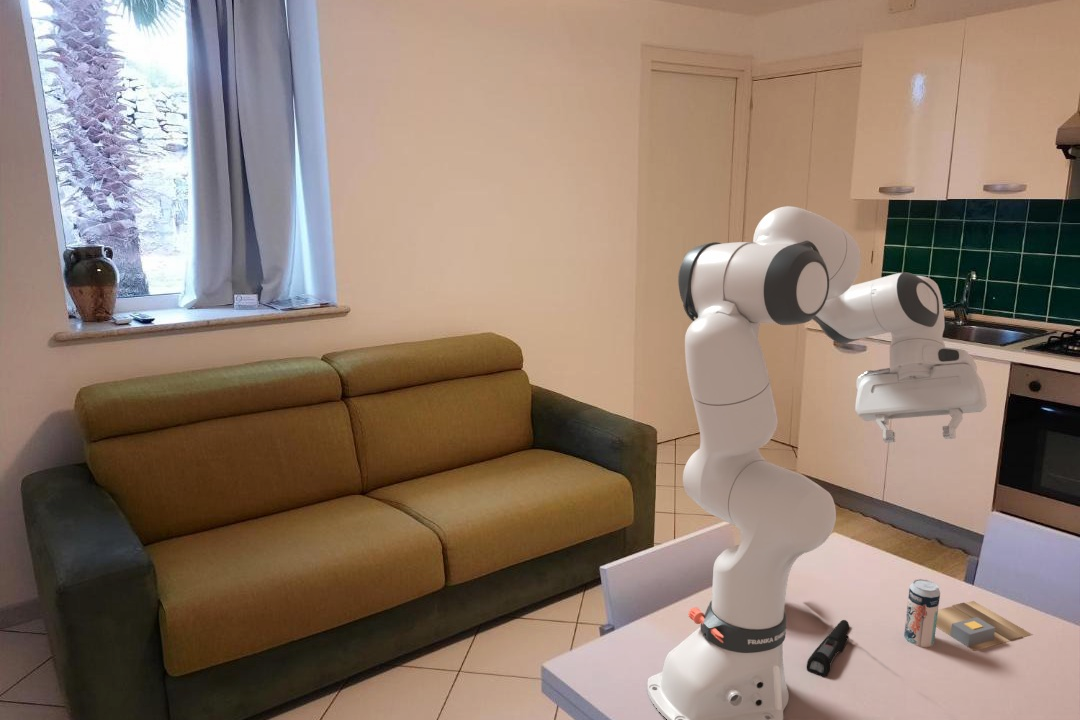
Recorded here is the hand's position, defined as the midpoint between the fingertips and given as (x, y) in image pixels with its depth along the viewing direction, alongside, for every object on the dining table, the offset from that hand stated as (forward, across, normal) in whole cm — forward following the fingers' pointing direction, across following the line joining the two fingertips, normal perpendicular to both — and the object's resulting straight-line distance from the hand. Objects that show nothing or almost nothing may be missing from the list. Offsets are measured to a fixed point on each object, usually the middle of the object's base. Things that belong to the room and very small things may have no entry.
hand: (918, 439), depth 127 cm
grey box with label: (+28, 0, +27) cm, 38 cm away
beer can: (+31, -7, +21) cm, 38 cm away
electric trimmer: (+35, -18, +10) cm, 41 cm away
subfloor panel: (+26, -1, +32) cm, 41 cm away
